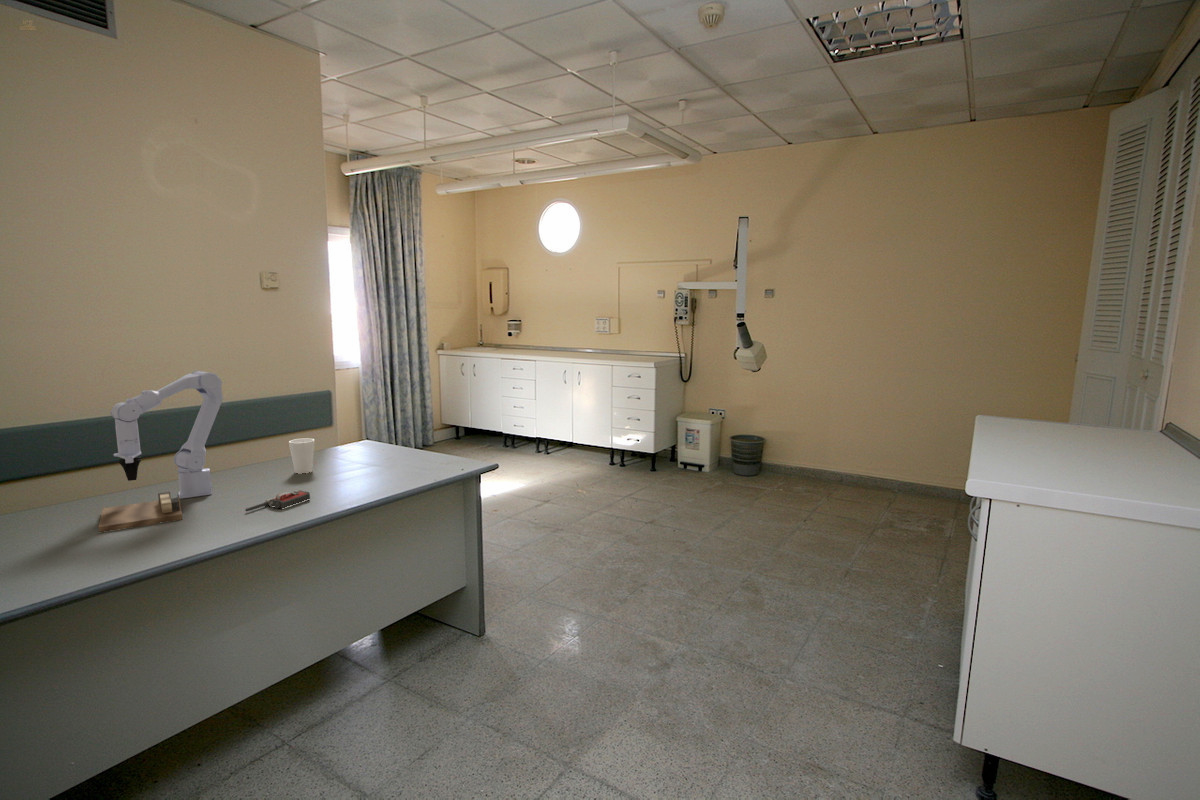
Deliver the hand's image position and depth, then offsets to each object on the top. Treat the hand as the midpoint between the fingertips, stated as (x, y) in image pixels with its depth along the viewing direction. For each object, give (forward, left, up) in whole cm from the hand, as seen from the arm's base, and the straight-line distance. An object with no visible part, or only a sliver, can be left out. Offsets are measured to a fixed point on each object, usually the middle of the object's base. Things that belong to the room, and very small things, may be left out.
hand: (132, 479), depth 194 cm
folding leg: (-8, +12, -7) cm, 16 cm away
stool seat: (-2, +12, -9) cm, 15 cm away
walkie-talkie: (-39, +24, -10) cm, 47 cm away
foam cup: (-54, -17, -10) cm, 57 cm away
